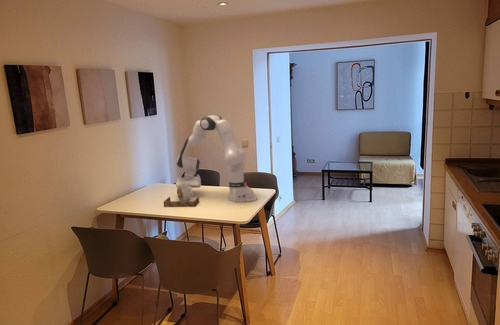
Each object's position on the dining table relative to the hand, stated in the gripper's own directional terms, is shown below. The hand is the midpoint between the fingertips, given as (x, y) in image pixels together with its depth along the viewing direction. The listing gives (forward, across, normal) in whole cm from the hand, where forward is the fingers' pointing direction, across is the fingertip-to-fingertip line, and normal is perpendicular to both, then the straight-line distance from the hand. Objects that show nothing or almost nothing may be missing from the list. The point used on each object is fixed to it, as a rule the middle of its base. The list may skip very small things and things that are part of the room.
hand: (187, 191), depth 306 cm
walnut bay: (+15, 0, -8) cm, 17 cm away
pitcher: (+8, 0, -1) cm, 8 cm away
